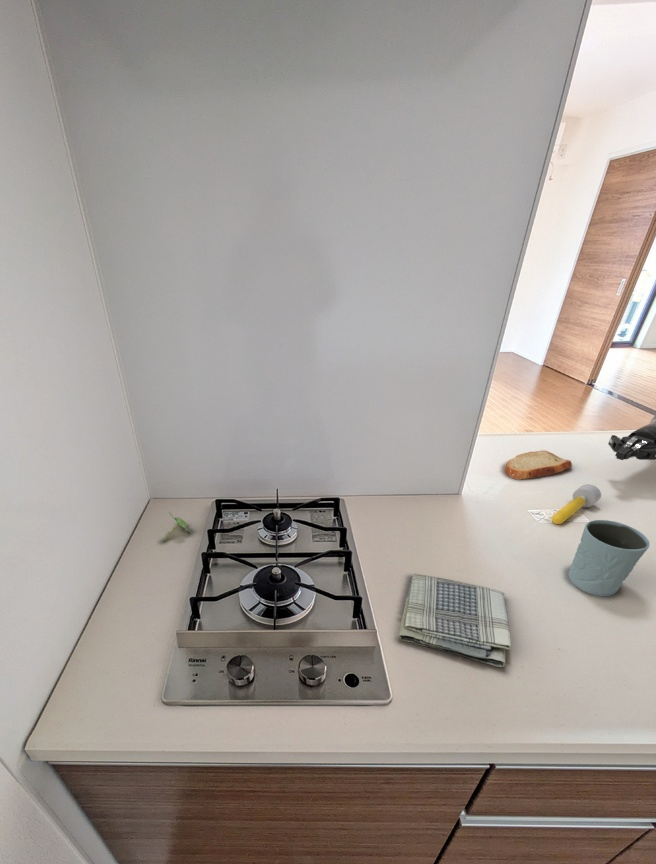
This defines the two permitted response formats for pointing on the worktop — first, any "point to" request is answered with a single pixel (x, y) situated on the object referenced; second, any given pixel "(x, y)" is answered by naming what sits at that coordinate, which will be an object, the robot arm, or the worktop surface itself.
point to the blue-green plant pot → (606, 556)
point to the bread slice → (535, 465)
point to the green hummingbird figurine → (179, 521)
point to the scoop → (578, 502)
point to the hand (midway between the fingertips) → (620, 455)
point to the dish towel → (456, 619)
